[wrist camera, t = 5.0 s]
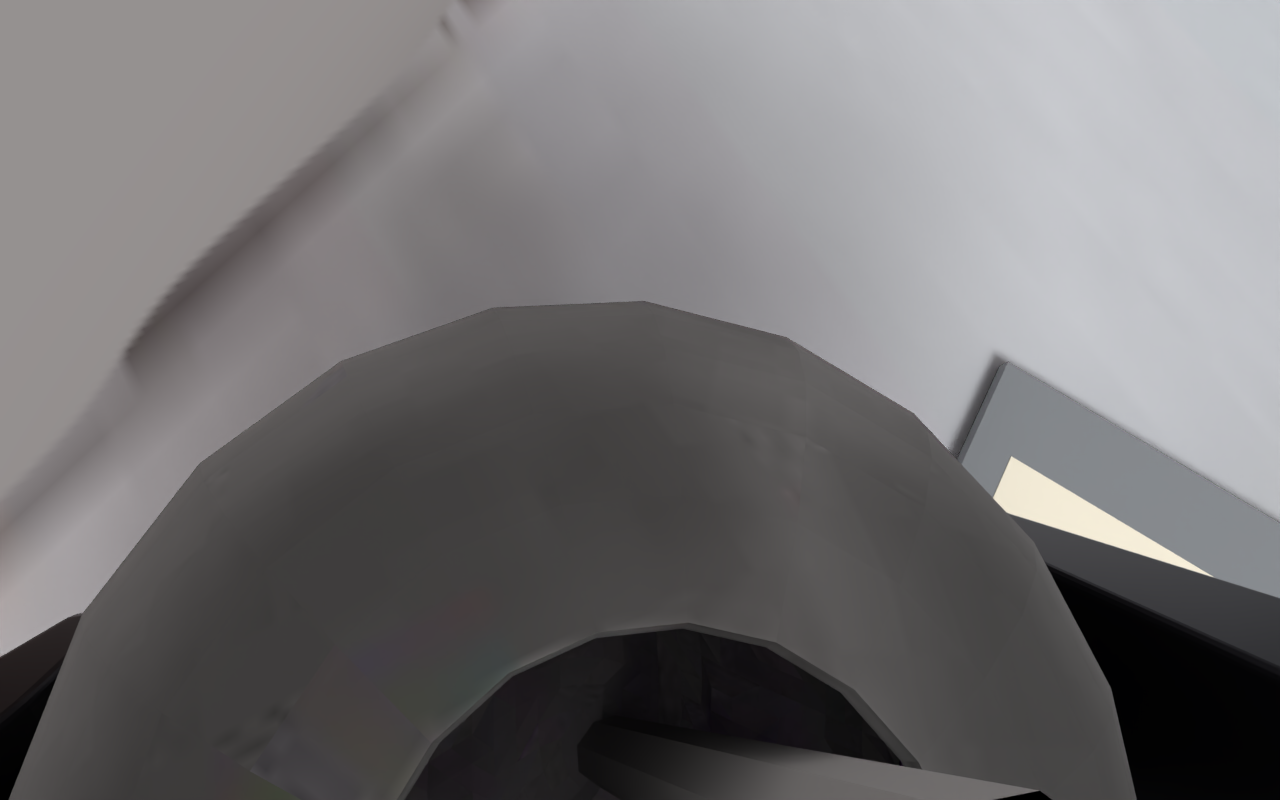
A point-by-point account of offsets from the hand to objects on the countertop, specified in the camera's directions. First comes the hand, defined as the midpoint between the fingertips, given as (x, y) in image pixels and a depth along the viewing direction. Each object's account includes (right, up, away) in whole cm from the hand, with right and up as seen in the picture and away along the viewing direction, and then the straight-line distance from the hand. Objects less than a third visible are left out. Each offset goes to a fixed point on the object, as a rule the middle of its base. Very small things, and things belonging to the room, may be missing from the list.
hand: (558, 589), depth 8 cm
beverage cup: (-1, -4, +10) cm, 11 cm away
